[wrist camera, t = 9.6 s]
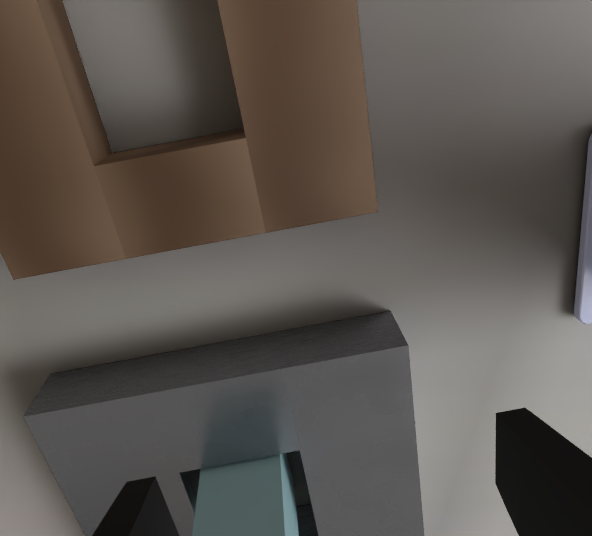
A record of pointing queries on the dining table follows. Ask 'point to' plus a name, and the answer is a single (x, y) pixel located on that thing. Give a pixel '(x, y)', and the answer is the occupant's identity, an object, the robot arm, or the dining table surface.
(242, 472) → the plug
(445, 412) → the dining table surface
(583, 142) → the dining table surface
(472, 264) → the dining table surface
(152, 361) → the port plate
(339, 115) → the brown square frame
